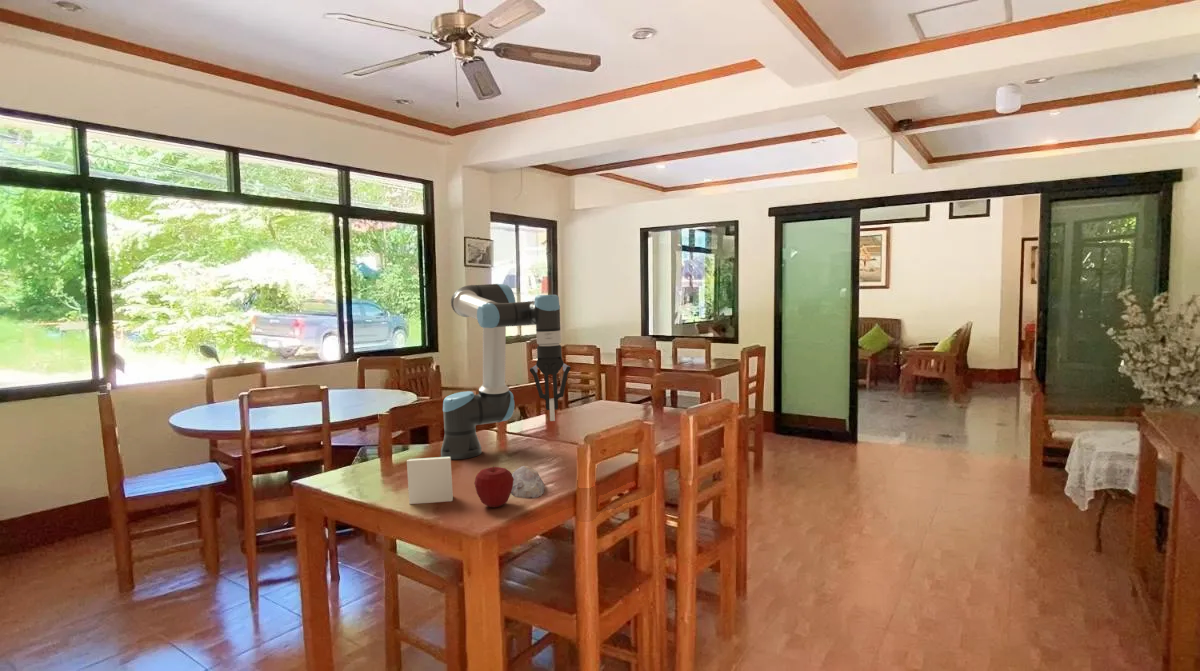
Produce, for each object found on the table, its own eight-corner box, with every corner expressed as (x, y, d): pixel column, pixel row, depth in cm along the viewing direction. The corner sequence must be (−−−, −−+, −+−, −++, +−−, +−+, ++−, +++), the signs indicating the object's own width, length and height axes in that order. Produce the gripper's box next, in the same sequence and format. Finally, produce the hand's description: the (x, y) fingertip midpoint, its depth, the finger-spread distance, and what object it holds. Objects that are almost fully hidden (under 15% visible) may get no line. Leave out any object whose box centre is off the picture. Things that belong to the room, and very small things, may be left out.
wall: (410, 502, 188) (407, 459, 187) (452, 499, 189) (450, 457, 188) (409, 504, 186) (406, 460, 185) (452, 501, 188) (450, 458, 187)
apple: (472, 513, 177) (470, 472, 176) (479, 500, 188) (477, 461, 187) (512, 511, 177) (510, 470, 176) (516, 499, 188) (515, 460, 187)
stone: (532, 517, 188) (555, 491, 190) (508, 497, 186) (530, 470, 187) (523, 499, 205) (544, 475, 206) (500, 480, 202) (521, 456, 204)
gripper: (527, 346, 191) (531, 423, 193) (570, 344, 192) (573, 421, 194) (528, 344, 199) (531, 418, 200) (569, 342, 200) (572, 416, 201)
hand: (552, 420), depth 197 cm, fingers closed
